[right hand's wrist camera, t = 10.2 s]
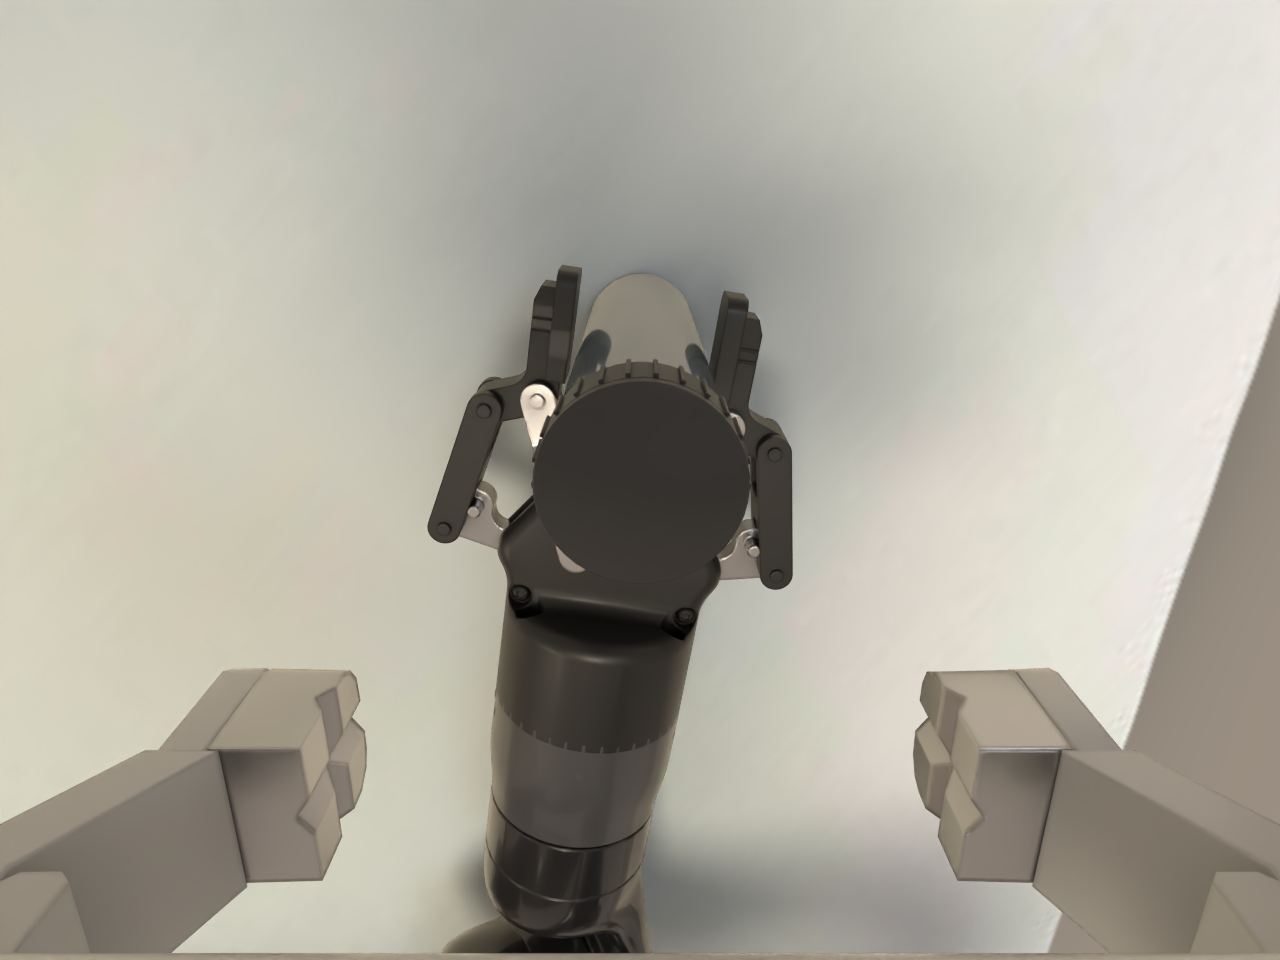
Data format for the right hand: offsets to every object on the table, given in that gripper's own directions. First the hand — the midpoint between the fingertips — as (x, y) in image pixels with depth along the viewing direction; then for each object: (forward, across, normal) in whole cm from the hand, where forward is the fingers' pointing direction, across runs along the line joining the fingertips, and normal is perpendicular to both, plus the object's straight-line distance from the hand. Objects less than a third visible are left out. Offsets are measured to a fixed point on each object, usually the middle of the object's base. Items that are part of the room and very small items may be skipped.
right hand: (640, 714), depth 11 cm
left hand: (+20, 0, -2) cm, 21 cm away
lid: (+8, 0, 0) cm, 8 cm away
